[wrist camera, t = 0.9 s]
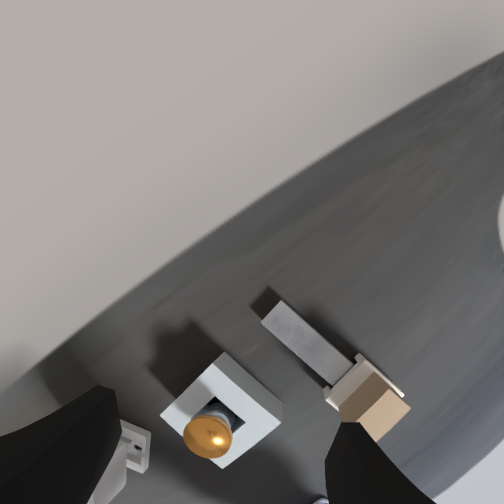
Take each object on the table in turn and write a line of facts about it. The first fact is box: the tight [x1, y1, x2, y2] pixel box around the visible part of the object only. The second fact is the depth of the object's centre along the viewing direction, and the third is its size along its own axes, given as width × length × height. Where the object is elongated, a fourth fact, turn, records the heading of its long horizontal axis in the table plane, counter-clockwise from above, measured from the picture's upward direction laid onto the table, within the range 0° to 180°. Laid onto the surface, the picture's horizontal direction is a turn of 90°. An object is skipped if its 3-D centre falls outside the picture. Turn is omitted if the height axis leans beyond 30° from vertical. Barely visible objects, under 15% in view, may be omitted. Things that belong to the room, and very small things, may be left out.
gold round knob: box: [183, 402, 235, 459], centre depth 20 cm, size 3×3×4 cm
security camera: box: [87, 419, 151, 504], centre depth 21 cm, size 6×7×10 cm
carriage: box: [323, 353, 411, 442], centre depth 20 cm, size 5×4×7 cm
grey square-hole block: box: [160, 351, 284, 469], centre depth 23 cm, size 7×7×4 cm
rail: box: [260, 299, 355, 387], centre depth 24 cm, size 13×2×2 cm, turn 48°
